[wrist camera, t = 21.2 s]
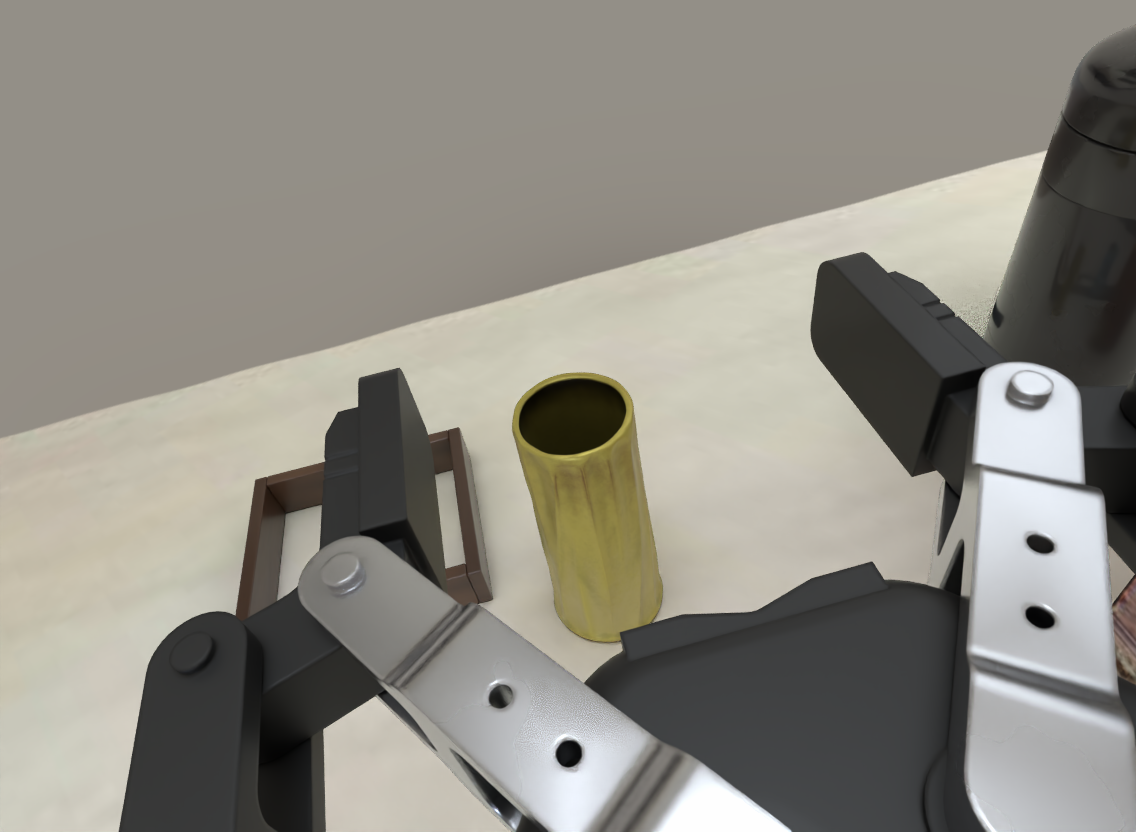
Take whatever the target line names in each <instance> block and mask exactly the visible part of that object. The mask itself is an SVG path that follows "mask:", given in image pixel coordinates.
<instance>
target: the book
mask: <svg viewBox="0 0 1136 832" xmlns="http://www.w3.org/2000/svg"><path fill="white" fill-rule="evenodd" d="M1112 610H1113V624H1114V638H1115V653H1116V667H1117V676H1119V677H1121V678H1123V679H1125V680H1127V681H1129V682H1131V683H1133V684H1135V685H1136V575H1134V576H1133V578H1132V579H1131V580H1130V582H1129V583H1128V584H1127V586H1126V587H1125V588H1124V590H1123V591H1122V592H1121V593H1120V595H1119V596H1118V597H1117V599H1116V600H1115V601H1114V603H1113V604H1112Z"/></svg>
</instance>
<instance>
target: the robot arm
mask: <svg viewBox="0 0 1136 832" xmlns="http://www.w3.org/2000/svg"><path fill="white" fill-rule="evenodd" d="M996 294H997V293H996ZM995 297H996V296H995ZM994 300H995V299H994ZM993 303H994V302H993ZM992 306H993V305H992ZM991 309H992V308H991ZM990 313H991V311H990ZM989 316H990V315H989ZM988 319H989V318H988ZM987 322H988V324H986V325H987V327H985V328H986V330H985V333H984V336H983V338H982V337H981V336H979V335H978V334H977V333H976V332H975V331H974V330H973V329H972V328H971V327H970V326H968V325H967V324H966V323H965V322H964V321H963V320H962V319H961V318H960V317H959V316H958V317H955V313H954V312H953V311H952V310H951V309H950V308H949V307H948V306H946V305H945V304H944V303H940V299H939V298H938V297H936V296H935V295H934V294H933V293H932V292H931V291H930V290H929V289H928V288H927V287H925V286H924V285H923V284H922V283H920V282H918V281H916V280H914V279H911V278H909V277H907V276H905V275H903V274H900V273H898V272H896V271H894V272H891V273H887V272H886V271H885V270H884V269H883V268H882V267H881V266H880V265H879V264H878V263H877V262H876V261H875V260H874V259H873V258H872V257H870V256H869V255H868V254H866V253H864V252H861V253H856V254H852V255H848V256H845V257H841V258H837V259H833V260H829V261H825V262H823V263H822V264H821V265H820V267H819V269H818V273H817V280H816V288H815V296H814V304H813V312H812V320H811V339H812V344H813V347H814V350H815V352H816V354H817V356H818V358H819V359H820V361H821V362H822V363H823V364H824V366H825V367H826V368H827V369H828V371H829V372H830V373H831V375H832V376H833V377H834V378H835V380H836V381H837V382H838V384H839V385H840V386H841V387H842V389H843V390H844V391H845V392H846V394H847V395H848V396H849V398H850V399H851V400H852V401H853V403H854V404H855V405H856V406H857V408H858V409H859V410H860V412H861V413H862V414H863V415H864V417H865V418H866V419H867V420H868V422H869V423H870V424H871V426H872V427H873V428H874V429H875V431H876V432H877V433H878V434H879V436H880V437H881V438H882V440H883V441H884V442H885V443H886V445H887V446H888V447H889V448H890V450H891V451H892V452H893V454H894V455H895V456H896V457H897V459H898V460H899V461H900V463H901V464H902V465H903V466H904V468H905V469H906V470H907V471H908V473H909V474H910V475H911V477H914V476H917V475H921V474H925V473H928V472H932V471H936V470H937V471H938V472H939V473H940V474H941V475H942V477H943V478H944V479H943V482H942V485H941V488H940V493H939V502H938V510H937V518H936V526H935V535H934V543H933V551H932V559H931V567H930V573H929V578H928V582H927V585H926V584H921V583H915V582H910V581H900V580H884V579H883V577H882V576H881V574H880V573H879V571H878V570H877V568H876V566H875V565H874V563H873V562H869V563H865V564H861V565H858V566H854V567H851V568H847V569H844V570H840V571H836V572H833V573H829V574H826V575H822V576H819V577H815V578H811V579H810V580H808V581H806V582H805V583H803V584H801V585H800V586H798V587H796V588H794V589H793V590H791V591H789V592H788V593H786V594H784V595H783V596H781V597H779V598H778V599H776V600H774V601H773V602H771V603H769V604H768V605H766V606H764V607H762V608H761V609H759V610H757V611H753V612H744V613H715V614H685V615H679V616H676V617H672V618H669V619H665V620H662V621H658V622H654V623H651V624H647V625H644V626H640V627H637V628H633V629H629V630H626V631H622V632H620V638H621V643H622V648H623V651H622V652H621V653H619V654H617V655H616V656H614V657H612V658H611V659H609V660H608V661H607V662H606V663H604V664H603V665H602V666H600V667H599V668H598V669H597V670H596V671H595V672H594V673H593V674H592V675H591V676H590V677H589V678H588V679H587V680H586V682H585V683H583V682H581V681H580V680H579V679H577V678H576V677H575V676H573V675H572V674H571V673H569V672H568V671H567V670H565V669H564V668H563V667H561V666H560V665H559V664H557V663H556V662H555V661H553V660H552V659H551V658H549V657H548V656H547V655H545V654H544V653H543V652H542V651H540V650H539V649H538V648H536V647H535V646H534V645H532V644H531V643H530V642H528V641H527V640H526V639H524V638H523V637H522V636H520V635H519V634H518V633H516V632H515V631H514V630H512V629H511V628H510V627H508V626H507V625H506V624H504V623H503V622H502V621H501V620H499V619H498V618H497V617H495V616H494V615H493V614H491V613H490V612H489V611H487V610H486V609H484V608H483V607H481V606H480V605H478V604H476V603H473V602H469V603H468V604H467V605H466V606H464V605H461V604H460V603H458V602H457V601H455V600H454V599H453V598H451V597H450V596H449V595H448V591H447V581H446V572H445V563H444V554H443V544H442V535H441V526H440V517H439V507H438V498H437V489H436V480H435V471H434V461H433V454H432V449H431V444H430V441H429V437H428V434H427V431H426V428H425V425H424V423H423V420H422V418H421V415H420V413H419V410H418V408H417V405H416V403H415V401H414V398H413V396H412V393H411V391H410V388H409V386H408V383H407V381H406V379H405V376H404V374H403V372H402V370H401V369H400V368H396V369H392V370H388V371H384V372H380V373H376V374H372V375H368V376H365V377H361V378H359V382H358V407H356V408H352V409H348V410H344V411H340V412H338V413H337V415H336V417H335V418H334V420H333V422H332V424H331V426H330V428H329V429H328V431H327V433H326V436H325V456H324V457H325V462H324V478H325V480H323V496H322V516H321V535H320V549H319V552H317V553H316V554H315V555H314V556H313V557H312V558H311V560H310V561H309V562H308V563H307V565H306V566H305V568H304V570H303V571H302V574H301V576H300V579H299V583H298V586H297V587H296V588H295V589H294V590H293V591H292V592H290V593H289V594H288V595H286V596H285V597H283V598H281V599H280V600H278V601H276V602H275V603H273V604H271V605H269V606H268V607H266V608H264V609H262V610H260V611H259V612H257V613H255V614H253V615H252V616H250V617H248V618H246V619H245V620H243V621H241V620H240V619H239V618H238V617H236V616H234V615H233V614H230V613H227V612H219V611H216V612H208V613H204V614H201V615H198V616H196V617H193V618H191V619H189V620H188V621H186V622H184V623H183V624H181V625H180V626H178V627H177V628H176V629H174V630H173V631H172V632H171V633H170V634H169V635H168V636H167V637H166V638H165V639H164V640H163V641H162V642H161V644H160V645H159V646H158V647H157V649H156V651H155V652H154V654H153V656H152V658H151V660H150V662H149V665H148V668H147V672H146V677H145V683H144V689H143V695H142V700H141V706H140V712H139V718H138V724H137V729H136V735H135V741H134V747H133V752H132V758H131V764H130V770H129V775H128V781H127V787H126V793H125V799H124V804H123V810H122V816H121V822H120V827H119V832H326V823H325V782H324V741H323V729H324V728H326V727H327V726H329V725H331V724H332V723H334V722H335V721H337V720H338V719H340V718H342V717H343V716H345V715H346V714H348V713H349V712H351V711H353V710H354V709H356V708H357V707H359V706H360V705H362V704H364V703H365V702H367V701H368V700H370V699H371V698H373V697H375V696H376V697H377V698H378V699H379V700H380V701H381V702H382V703H383V704H384V705H385V706H386V707H387V708H388V709H389V710H390V711H391V712H392V713H393V714H394V715H395V716H396V717H397V718H398V719H399V720H400V721H401V722H402V723H403V724H404V725H405V726H406V727H408V728H409V729H410V730H411V731H412V732H413V733H414V734H415V735H416V736H417V737H418V738H419V739H420V740H421V741H422V742H423V743H424V744H425V745H426V746H427V747H428V748H429V749H430V750H431V751H432V752H433V753H434V754H435V755H436V756H437V757H438V758H439V759H440V760H441V761H442V762H443V763H444V764H445V765H446V766H447V767H448V768H449V769H450V770H451V771H452V772H453V773H454V775H455V776H456V777H457V778H458V779H459V780H460V781H461V782H462V784H463V785H464V786H465V787H466V788H467V789H468V790H469V791H470V792H471V793H472V794H473V795H474V796H475V797H476V798H477V799H478V800H479V801H480V802H481V803H482V804H483V805H484V806H485V807H486V808H487V809H488V810H489V811H490V812H491V813H492V814H493V815H494V816H495V817H496V818H497V819H498V820H499V821H500V822H501V823H502V824H503V825H504V826H505V827H506V828H507V829H509V830H510V831H511V832H1136V685H1135V684H1133V683H1131V682H1129V681H1127V680H1125V679H1123V678H1121V677H1119V676H1117V667H1116V653H1115V638H1114V624H1113V610H1112V596H1111V582H1110V568H1109V554H1108V544H1109V545H1110V546H1111V547H1112V549H1113V550H1114V551H1115V552H1116V553H1117V554H1118V555H1119V557H1120V558H1121V559H1122V560H1123V561H1124V562H1125V563H1126V564H1127V566H1128V567H1129V568H1130V569H1131V570H1132V571H1133V572H1134V573H1135V575H1136V24H1135V25H1133V26H1130V27H1128V28H1126V29H1123V30H1121V31H1119V32H1116V33H1114V34H1112V35H1110V36H1109V37H1107V38H1105V39H1103V40H1102V41H1100V42H1099V43H1097V44H1096V45H1095V46H1094V47H1092V48H1091V49H1090V50H1089V51H1088V52H1087V53H1086V55H1085V56H1084V57H1083V59H1082V60H1081V62H1080V63H1079V65H1078V67H1077V69H1076V71H1075V74H1074V76H1073V79H1072V82H1071V84H1070V87H1069V90H1068V93H1067V96H1066V99H1065V102H1064V105H1063V109H1062V111H1061V114H1060V117H1059V120H1058V122H1057V125H1056V128H1055V131H1054V134H1053V137H1052V140H1051V143H1050V145H1049V148H1048V151H1047V154H1046V157H1045V160H1044V163H1043V166H1042V169H1041V172H1040V175H1039V178H1038V181H1037V184H1036V187H1035V190H1034V193H1033V195H1032V198H1031V201H1030V204H1029V207H1028V210H1027V213H1026V216H1025V218H1024V221H1023V224H1022V227H1021V230H1020V233H1019V236H1018V239H1017V241H1016V244H1015V247H1014V250H1013V253H1012V256H1011V259H1010V262H1009V264H1008V267H1007V270H1006V273H1005V276H1004V279H1003V282H1002V285H1001V287H1000V290H999V293H998V296H997V299H996V302H995V305H994V308H993V310H992V313H991V316H990V319H989V321H987Z"/></svg>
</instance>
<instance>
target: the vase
mask: <svg viewBox="0 0 1136 832" xmlns="http://www.w3.org/2000/svg"><path fill="white" fill-rule="evenodd" d="M512 431H513V436H514V439H515V442H516V446H517V450H518V454H519V457H520V461H521V465H522V468H523V472H524V476H525V479H526V483H527V486H528V489H529V491H530V494H531V498H532V502H533V507H534V512H535V517H536V521H537V525H538V529H539V533H540V537H541V542H542V546H543V550H544V553H545V556H546V559H547V563H548V566H549V570H550V575H551V580H552V584H553V588H554V604H555V608H556V611H557V613H558V615H559V617H560V619H561V620H562V622H563V623H564V624H565V625H566V626H567V627H568V628H569V629H570V630H571V631H573V632H574V633H576V634H577V635H579V636H581V637H583V638H586V639H589V640H594V641H601V642H614V641H620V640H621V638H620V632H622V631H626V630H629V629H633V628H637V627H640V626H644V625H647V624H650V622H651V621H652V620H653V619H654V617H655V616H656V614H657V613H658V610H659V608H660V605H661V601H662V593H663V585H662V580H661V577H660V575H659V572H658V562H657V553H656V547H655V541H654V536H653V531H652V526H651V521H650V515H649V510H648V504H647V498H646V493H645V488H644V481H643V474H642V468H641V461H640V455H639V448H638V440H637V431H636V423H635V415H634V406H633V402H632V399H631V397H630V395H629V393H628V392H627V391H626V389H625V388H624V387H623V386H622V385H621V384H620V383H618V382H617V381H615V380H613V379H611V378H609V377H606V376H602V375H599V374H594V373H566V374H561V375H557V376H553V377H550V378H548V379H545V380H544V381H542V382H540V383H538V384H537V385H535V386H534V387H533V388H531V389H530V390H529V391H527V392H526V393H525V394H524V395H523V396H522V398H521V399H520V400H519V402H518V403H517V405H516V407H515V410H514V415H513V422H512Z"/></svg>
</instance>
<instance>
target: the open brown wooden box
mask: <svg viewBox="0 0 1136 832" xmlns="http://www.w3.org/2000/svg"><path fill="white" fill-rule="evenodd" d="M428 437H429V441H430V444H431V449H432V454H433V461H434V471H435V474H437V473H441V472H444V471H448V470H452V469H453V473H454V481H455V488H456V495H457V503H458V510H459V518H460V525H461V532H462V540H463V547H464V555H465V562H466V564H462V565H458V566H454V567H451V568H447V569H445V572H446V581H447V591H448V595H449V596H450V597H451V598H453V599H454V600H455V601H457V602H458V603H460V604H461V605H464V606H466V605H467V604H468V603H469V602H473V603H476V604H478V603H479V602H480V603H481V602H485V601H489V600H492V599H493V596H492V590H491V584H490V577H489V571H488V565H487V559H486V553H485V547H484V540H483V534H482V528H481V522H480V516H479V510H478V503H477V497H476V491H475V485H474V479H473V473H472V466H471V460H470V456H469V453H468V450H467V447H466V444H465V442H464V439H463V436H462V433H461V431H460V428H459V427H458V428H454V429H450V430H448V431H447V430H446V431H442V432H438V433H434V434H430V435H428ZM323 480H325V478H324V462H322V463H318V464H314V465H311V466H307V467H303V468H299V469H295V470H291V471H287V472H284V473H280V474H276V475H272V476H268V477H264V478H260V479H256V480H255V486H254V492H253V499H252V506H251V513H250V520H249V527H248V534H247V540H246V547H245V554H244V561H243V568H242V575H241V581H240V588H239V595H238V602H237V609H236V617H238V618H239V619H240V620H241V621H243V620H245V619H246V618H248V617H250V616H252V615H253V614H255V613H257V612H259V611H260V610H262V609H264V608H266V607H268V606H269V605H271V604H273V603H275V602H276V601H277V591H278V580H279V570H280V560H281V550H282V540H283V530H284V520H285V512H286V513H288V512H292V511H296V510H299V509H303V508H307V507H311V506H315V505H319V504H322V496H323Z"/></svg>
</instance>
